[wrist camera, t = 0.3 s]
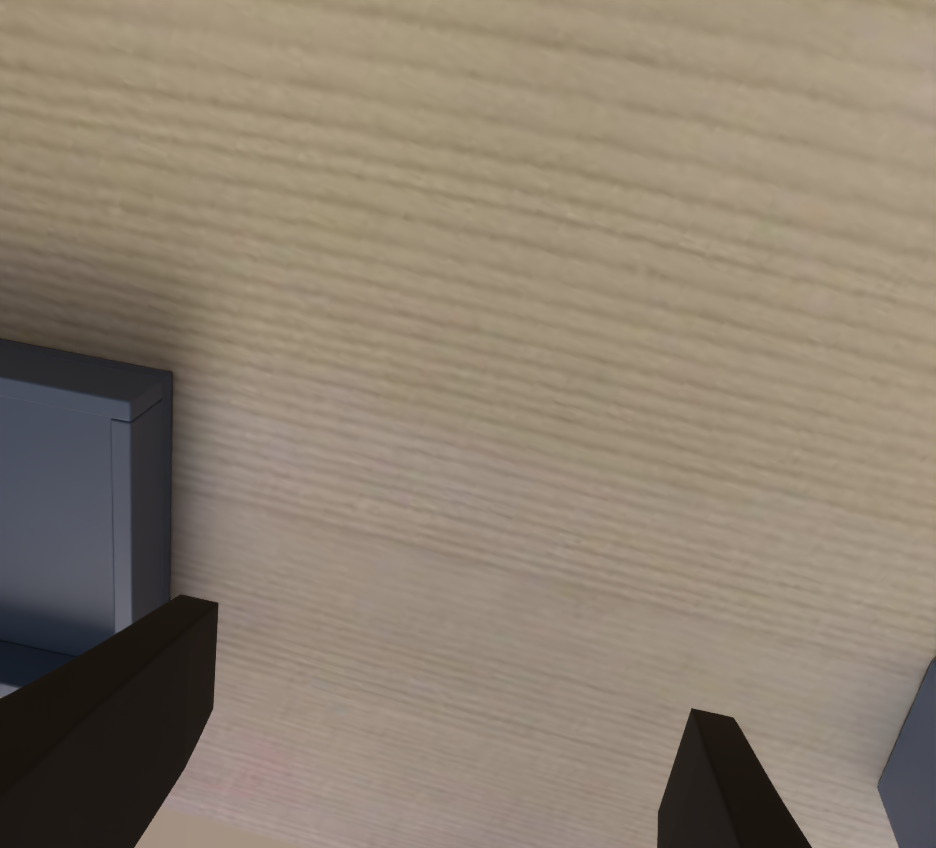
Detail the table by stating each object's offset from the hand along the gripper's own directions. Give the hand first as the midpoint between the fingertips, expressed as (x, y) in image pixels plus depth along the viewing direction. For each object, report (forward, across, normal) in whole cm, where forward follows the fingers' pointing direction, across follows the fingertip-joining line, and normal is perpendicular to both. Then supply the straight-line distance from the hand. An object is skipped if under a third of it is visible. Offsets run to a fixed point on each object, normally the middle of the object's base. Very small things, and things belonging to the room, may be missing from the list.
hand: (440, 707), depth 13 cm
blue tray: (+8, +12, +4) cm, 15 cm away
